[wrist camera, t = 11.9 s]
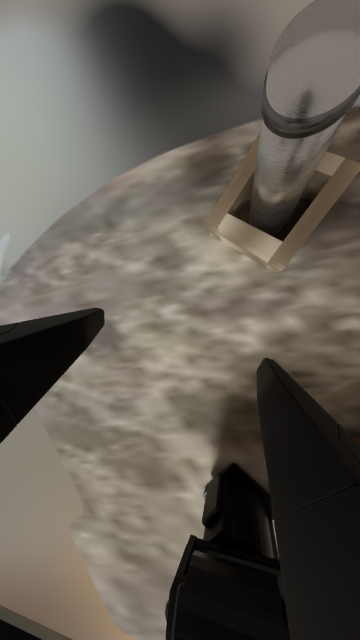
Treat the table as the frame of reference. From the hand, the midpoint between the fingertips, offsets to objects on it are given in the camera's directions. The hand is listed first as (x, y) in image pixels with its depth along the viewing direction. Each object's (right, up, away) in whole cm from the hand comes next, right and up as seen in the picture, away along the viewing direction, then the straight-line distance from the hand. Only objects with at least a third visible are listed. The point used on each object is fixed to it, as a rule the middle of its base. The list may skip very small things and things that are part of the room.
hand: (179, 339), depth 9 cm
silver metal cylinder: (+10, +12, +9) cm, 18 cm away
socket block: (+10, +12, +9) cm, 18 cm away
